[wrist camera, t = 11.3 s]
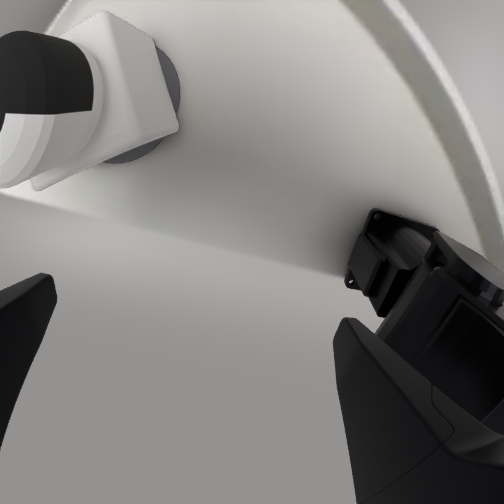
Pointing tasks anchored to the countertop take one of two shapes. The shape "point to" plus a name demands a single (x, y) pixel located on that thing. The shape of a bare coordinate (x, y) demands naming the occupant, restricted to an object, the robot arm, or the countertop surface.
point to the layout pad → (174, 93)
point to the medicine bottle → (78, 99)
